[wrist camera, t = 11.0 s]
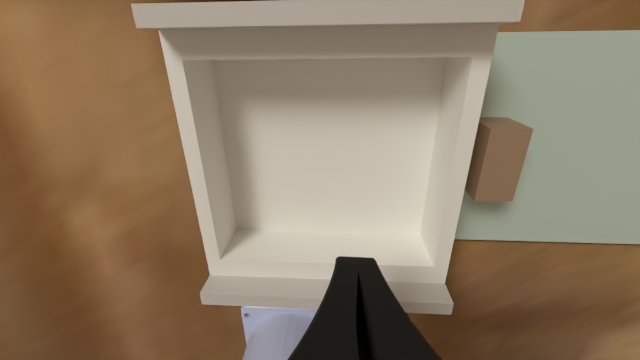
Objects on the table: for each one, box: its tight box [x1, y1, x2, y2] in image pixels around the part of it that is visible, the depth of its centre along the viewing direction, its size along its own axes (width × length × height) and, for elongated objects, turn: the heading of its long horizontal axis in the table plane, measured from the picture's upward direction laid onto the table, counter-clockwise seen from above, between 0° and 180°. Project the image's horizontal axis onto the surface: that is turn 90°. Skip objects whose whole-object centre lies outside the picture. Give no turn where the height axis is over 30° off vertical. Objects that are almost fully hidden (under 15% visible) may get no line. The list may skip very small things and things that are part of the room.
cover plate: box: [454, 30, 640, 244], centre depth 17 cm, size 13×14×4 cm
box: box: [131, 0, 525, 315], centre depth 16 cm, size 15×14×6 cm
